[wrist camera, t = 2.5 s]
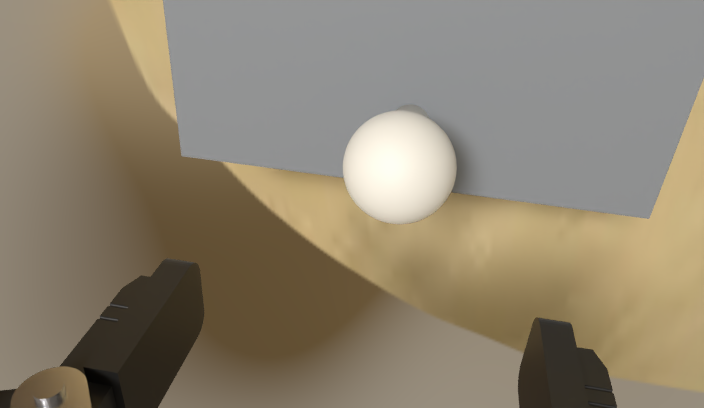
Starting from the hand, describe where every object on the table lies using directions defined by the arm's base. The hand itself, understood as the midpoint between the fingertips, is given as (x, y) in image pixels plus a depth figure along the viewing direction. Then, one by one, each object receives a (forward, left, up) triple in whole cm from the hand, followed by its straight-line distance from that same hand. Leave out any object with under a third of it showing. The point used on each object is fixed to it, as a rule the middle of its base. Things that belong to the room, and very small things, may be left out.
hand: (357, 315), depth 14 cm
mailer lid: (0, -6, -13) cm, 14 cm away
